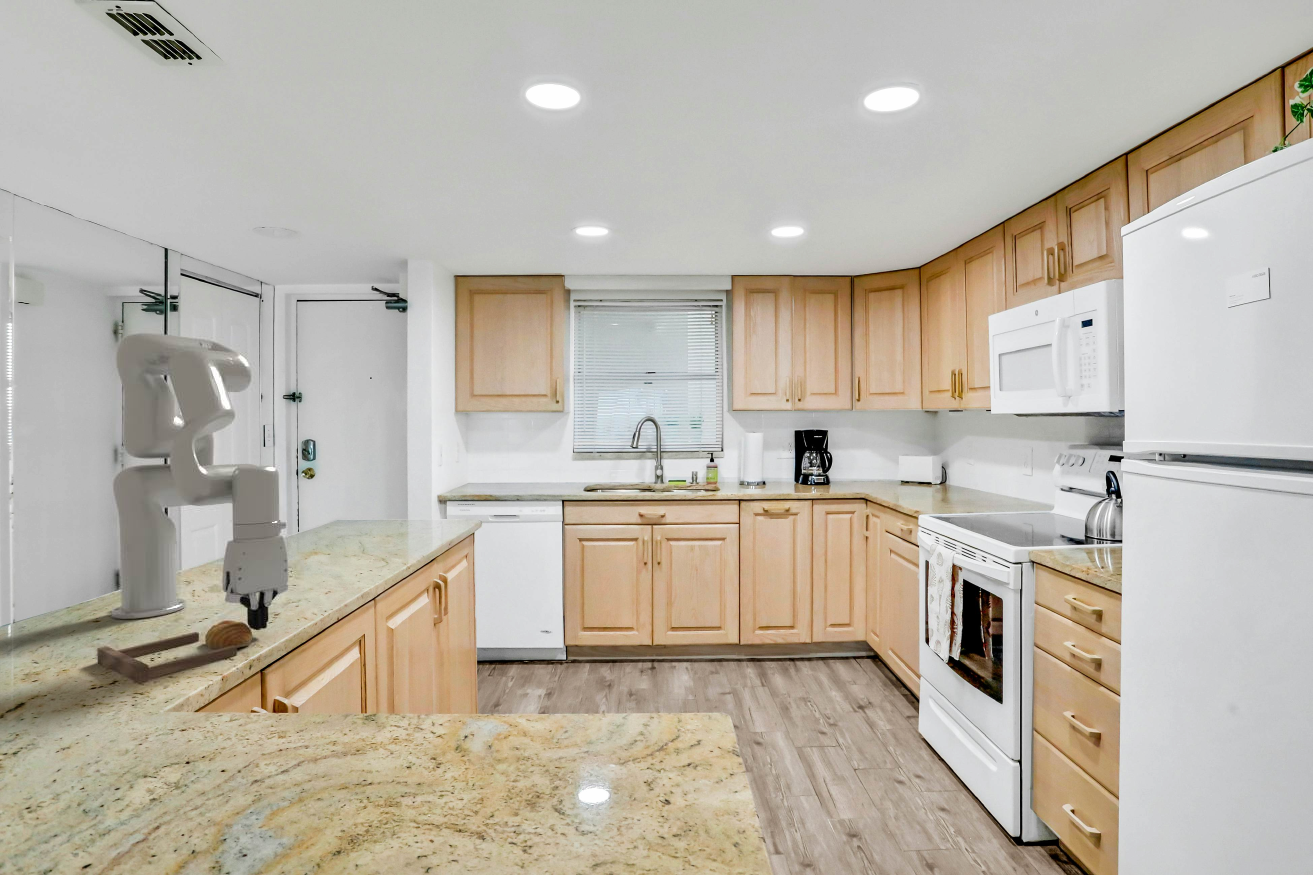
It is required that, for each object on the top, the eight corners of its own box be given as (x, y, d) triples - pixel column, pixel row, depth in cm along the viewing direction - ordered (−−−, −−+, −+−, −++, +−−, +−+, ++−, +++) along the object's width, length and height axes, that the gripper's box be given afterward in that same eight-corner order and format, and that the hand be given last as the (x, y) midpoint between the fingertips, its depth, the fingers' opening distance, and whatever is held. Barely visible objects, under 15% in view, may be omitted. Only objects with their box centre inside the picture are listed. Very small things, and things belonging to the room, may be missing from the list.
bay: (97, 662, 108) (97, 647, 108) (194, 639, 120) (193, 625, 120) (139, 683, 99) (139, 667, 99) (239, 655, 111) (238, 641, 111)
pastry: (262, 645, 117) (261, 624, 117) (219, 656, 112) (219, 634, 111) (242, 635, 123) (241, 615, 123) (200, 645, 117) (200, 624, 117)
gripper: (285, 524, 129) (287, 615, 130) (202, 535, 117) (204, 635, 117) (306, 527, 126) (308, 620, 126) (223, 538, 113) (224, 642, 113)
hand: (258, 627), depth 121 cm, fingers closed
